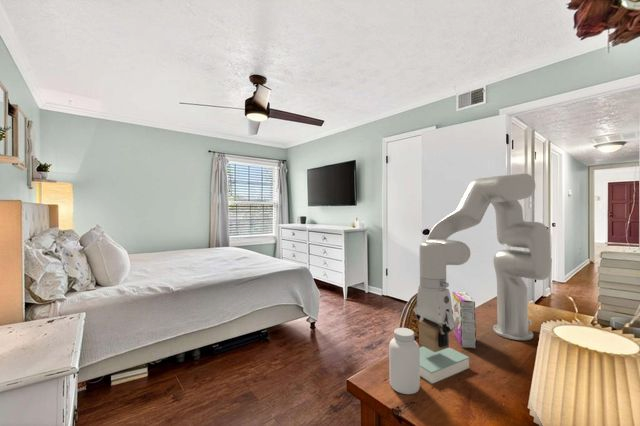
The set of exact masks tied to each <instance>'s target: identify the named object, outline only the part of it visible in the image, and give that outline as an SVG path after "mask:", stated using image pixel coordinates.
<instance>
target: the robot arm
mask: <svg viewBox="0 0 640 426" xmlns="http://www.w3.org/2000/svg"><path fill="white" fill-rule="evenodd" d="M535 190H536V181H535V179H534V177H533V176H532V175H531V174H529V173H513V174H507V175H497V176H489V177H480V178H477V179H473V180H472V181H470V182H469V184H468V185H467V188H466V189H465V191H464V193H463V195H462V196H461V198H460V200H459V202H458V204H457V205H456V208H455V209H454V210H453V212H451V213H449V214H447V216H445V217H444V218H443V219H441V220H440V221H438V222H437V223H436V224H435V225H434V226H433V227H432V228H431V230H430V231H429V234H428V235H427V237H426V239H425V241H424V242H422V243H421V244H420V245H419V285H418V287H417V288H418V289H417V295H416V296H417V297H416V305H415V307H414V308H412V311H413V313H414V314H415V316H416V318H417V320H418V321H422V320H425V319H428V320H430V321H433V322H435V323H437V324H438V327H439V331H440V333H439V334H438V340H439V347H444V346H447V345H448V333H449V334H450V332H451V331H454V328H455V327H457V324H456V322H455V321H454V319H453V301H452V297H451V293H450V289H449V288H448V287H449V286H450V284H449V282H447V266H461V265H464V264H466V263H467V262H468V261H469V259H470V257H471V248H470V247H469V245H467V244H466V243H465V242H463V241H460V240H454V239H448V238H450V237H451V236H452V235H454V234H456V233H458V232H461V231H465V230H469V229H470V228H472V227H475V226H478V225H479V224H480V223H481V222H482V220H483V218H484V216H485V213H486V212H487V209H488V208H489V206H490V204H491V205H492V206H493V208H494V210H495V211H494V212H495V224H496V225H495V226H496V228H495V229H496V239H497V242H498V243H499V244H500V245H502V246H506V247H510V248H520V249H521V248H523V249H528V250H529V251H526V250H517V249H507V248H506V249H501V250H498V251H497V252H495V254H494V256H493V261H492V262H493V267H494V270H495V275H496V276H495V277H496V299H497V300H496V304H497V306H496V309H497V313H496V314H497V316H496V317H497V324H494V325H493V326H492V330H493V332H494V333H495V334H496V335H499V336H500V337H503V338H506V339H510V340H514V341H530V340H532V339H533V338H534V333H533V332H532V330H529V326H531V325H533V321H532V320H531V319H528V318H529V317H528V315H529V313H528V312H529V310H528V309H529V308H528V306H529V305H528V287H527V285H526V283H525V281H524V279H530V280H535V281H544V280H546V279H548V278H549V277H550V275H551V272H552V254H551V238H550V237H551V236H550V232H549V229H548V227H547V226H546V225H545V224H544V223H542V222H538V221H524V213H523V211H524V210H523V207H522V204H521V203H520V201H521V200H524V199H528V198H530V197H531V196H532V195H533V194H534V193H535ZM523 278H524V279H523ZM448 324H449V325H448ZM442 325H444V329H443V326H442Z"/></svg>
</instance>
